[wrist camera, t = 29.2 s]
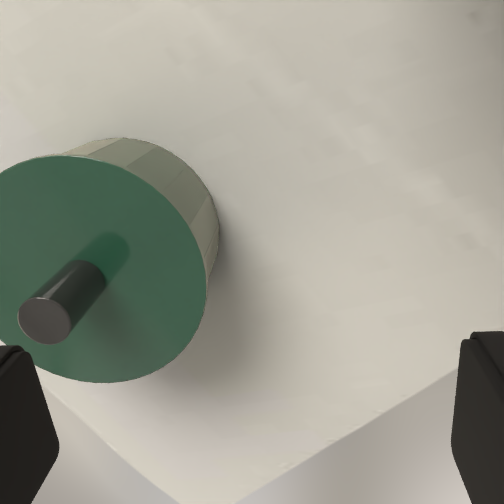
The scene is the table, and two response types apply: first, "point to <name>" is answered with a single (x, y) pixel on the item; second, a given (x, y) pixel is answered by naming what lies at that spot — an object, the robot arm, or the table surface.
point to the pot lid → (96, 269)
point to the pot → (166, 184)
